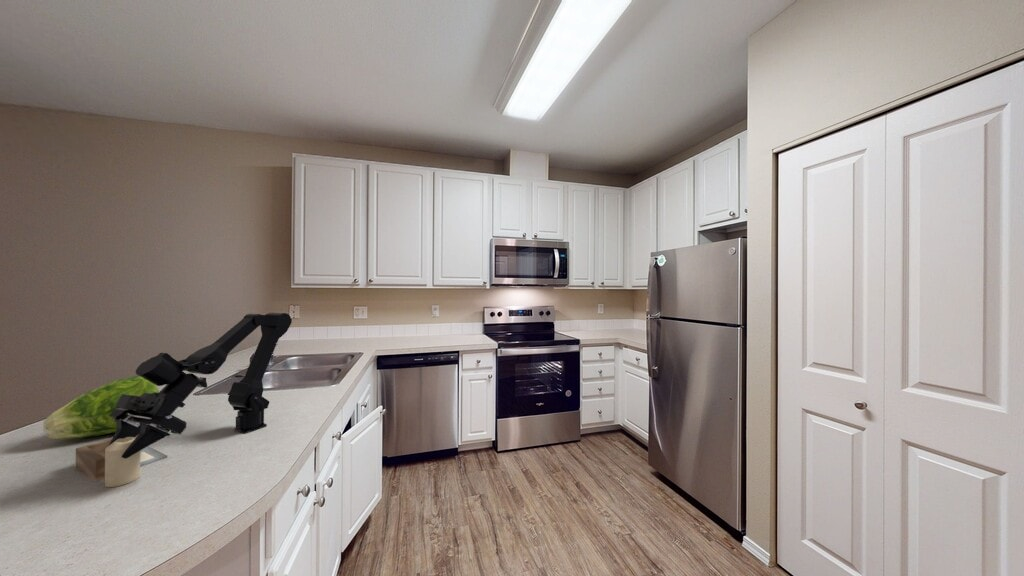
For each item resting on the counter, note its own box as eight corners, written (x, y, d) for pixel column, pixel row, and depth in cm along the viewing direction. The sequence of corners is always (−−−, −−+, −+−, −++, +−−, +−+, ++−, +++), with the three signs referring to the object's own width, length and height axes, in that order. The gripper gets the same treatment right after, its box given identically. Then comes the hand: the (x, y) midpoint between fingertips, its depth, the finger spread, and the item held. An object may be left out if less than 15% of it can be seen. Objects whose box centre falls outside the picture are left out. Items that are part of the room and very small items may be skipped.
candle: (115, 489, 76) (116, 445, 76) (98, 485, 77) (98, 443, 77) (146, 475, 81) (146, 435, 81) (129, 472, 82) (130, 432, 82)
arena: (145, 446, 96) (145, 429, 96) (167, 457, 90) (167, 439, 90) (75, 467, 84) (75, 448, 84) (95, 481, 79) (95, 460, 79)
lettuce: (55, 464, 97) (46, 415, 102) (168, 425, 115) (156, 385, 120) (38, 443, 87) (30, 391, 92) (164, 404, 105) (151, 362, 110)
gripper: (120, 376, 85) (51, 437, 75) (172, 382, 81) (107, 449, 70) (158, 396, 93) (101, 455, 82) (208, 403, 88) (154, 466, 78)
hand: (115, 456), depth 78 cm, fingers closed on candle, 5 cm apart
